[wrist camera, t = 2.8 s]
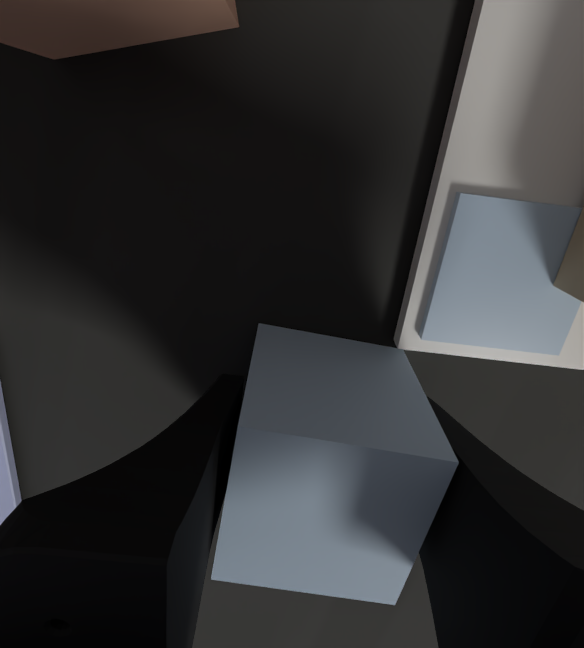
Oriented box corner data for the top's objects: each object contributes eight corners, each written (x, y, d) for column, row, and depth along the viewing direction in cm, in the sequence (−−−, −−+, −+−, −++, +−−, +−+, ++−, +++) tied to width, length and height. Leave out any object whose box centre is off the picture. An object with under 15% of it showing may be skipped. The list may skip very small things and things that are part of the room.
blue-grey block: (237, 441, 15) (211, 579, 10) (258, 323, 13) (237, 426, 8) (364, 461, 15) (394, 604, 10) (402, 349, 13) (459, 463, 9)
